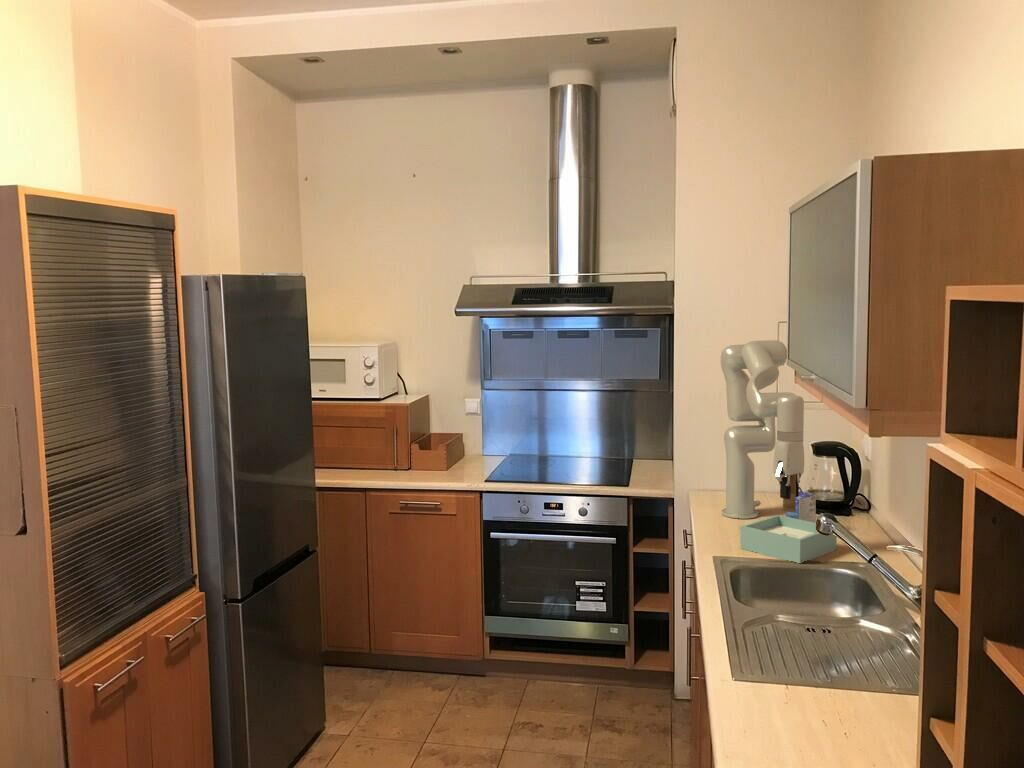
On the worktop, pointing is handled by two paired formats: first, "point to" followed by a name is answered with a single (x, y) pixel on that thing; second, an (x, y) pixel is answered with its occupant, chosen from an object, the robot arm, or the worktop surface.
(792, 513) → the ink cartridge box
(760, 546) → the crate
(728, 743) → the worktop surface
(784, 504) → the peg
